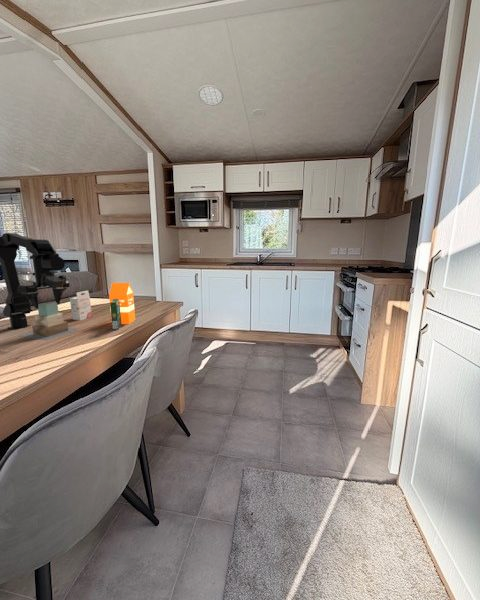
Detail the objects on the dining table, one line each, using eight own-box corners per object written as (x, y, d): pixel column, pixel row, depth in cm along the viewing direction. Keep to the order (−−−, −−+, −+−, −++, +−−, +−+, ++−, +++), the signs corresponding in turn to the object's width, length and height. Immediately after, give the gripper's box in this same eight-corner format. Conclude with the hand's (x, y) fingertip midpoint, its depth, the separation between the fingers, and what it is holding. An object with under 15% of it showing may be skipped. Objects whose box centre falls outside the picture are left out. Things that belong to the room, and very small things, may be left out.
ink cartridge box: (84, 316, 147) (81, 289, 144) (92, 316, 146) (89, 290, 143) (71, 320, 139) (68, 292, 136) (80, 320, 138) (76, 292, 135)
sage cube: (38, 315, 114) (37, 304, 113) (50, 313, 119) (48, 302, 118) (47, 316, 113) (45, 304, 112) (58, 313, 117) (57, 302, 116)
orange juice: (129, 324, 132) (125, 283, 128) (111, 324, 132) (107, 283, 128) (135, 320, 139) (132, 281, 136) (118, 319, 140) (115, 281, 136)
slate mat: (19, 337, 112) (18, 336, 112) (55, 326, 127) (55, 325, 127) (47, 341, 108) (46, 340, 107) (81, 329, 123) (81, 328, 122)
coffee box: (118, 329, 123) (116, 301, 120) (112, 330, 122) (109, 302, 119) (122, 325, 130) (119, 298, 128) (115, 325, 130) (113, 298, 127)
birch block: (36, 325, 114) (34, 316, 114) (51, 321, 121) (50, 312, 120) (48, 326, 112) (46, 317, 112) (63, 322, 119) (62, 313, 118)
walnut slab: (33, 334, 114) (32, 325, 114) (53, 328, 123) (52, 320, 122) (49, 336, 112) (47, 327, 111) (68, 330, 120) (67, 321, 119)
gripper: (33, 272, 101) (39, 312, 104) (76, 268, 118) (81, 303, 121) (13, 271, 104) (19, 310, 107) (58, 268, 122) (62, 301, 125)
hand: (47, 306), depth 115 cm, fingers open, 9 cm apart
